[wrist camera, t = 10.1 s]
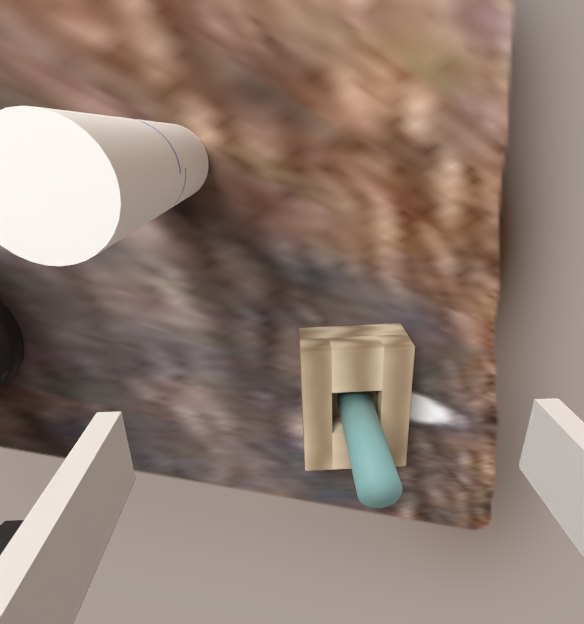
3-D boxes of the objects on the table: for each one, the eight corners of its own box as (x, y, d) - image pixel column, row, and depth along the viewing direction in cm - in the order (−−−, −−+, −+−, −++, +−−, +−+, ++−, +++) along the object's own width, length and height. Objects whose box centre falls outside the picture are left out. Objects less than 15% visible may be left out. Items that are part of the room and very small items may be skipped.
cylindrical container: (197, 116, 41) (85, 88, 18) (216, 190, 44) (142, 250, 21) (126, 132, 41) (-71, 125, 18) (150, 205, 44) (5, 279, 21)
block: (303, 437, 56) (305, 470, 50) (298, 328, 50) (300, 351, 44) (393, 433, 56) (405, 465, 50) (400, 323, 50) (414, 346, 44)
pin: (337, 413, 51) (357, 509, 38) (336, 385, 49) (357, 475, 36) (370, 411, 51) (401, 506, 38) (371, 383, 49) (403, 472, 36)
